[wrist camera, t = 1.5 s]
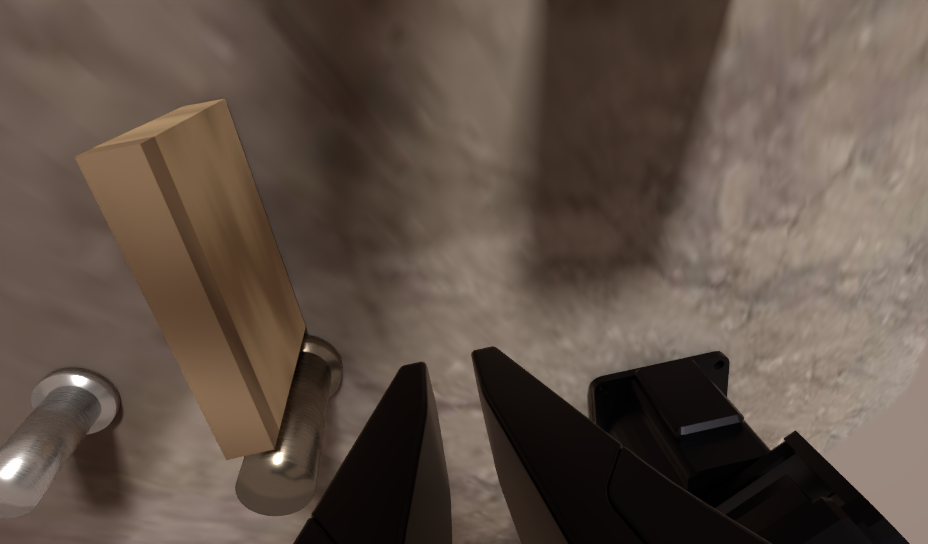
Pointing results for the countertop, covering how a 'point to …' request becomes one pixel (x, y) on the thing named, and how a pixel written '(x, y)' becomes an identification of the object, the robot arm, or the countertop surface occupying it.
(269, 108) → the countertop surface
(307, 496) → the hinge post
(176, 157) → the gate
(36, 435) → the post
